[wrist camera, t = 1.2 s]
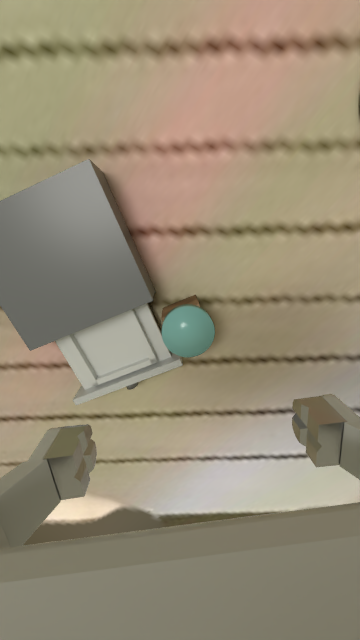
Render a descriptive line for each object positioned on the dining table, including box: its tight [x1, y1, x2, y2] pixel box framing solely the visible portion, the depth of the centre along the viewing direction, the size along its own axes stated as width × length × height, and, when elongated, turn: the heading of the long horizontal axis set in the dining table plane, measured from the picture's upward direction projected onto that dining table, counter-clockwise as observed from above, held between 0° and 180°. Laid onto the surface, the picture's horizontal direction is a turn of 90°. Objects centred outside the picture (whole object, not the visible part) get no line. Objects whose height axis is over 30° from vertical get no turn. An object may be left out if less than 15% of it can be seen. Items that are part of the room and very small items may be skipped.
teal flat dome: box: [162, 304, 215, 357], centre depth 31 cm, size 6×6×2 cm
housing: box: [0, 159, 156, 351], centre depth 31 cm, size 17×16×5 cm
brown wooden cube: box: [161, 295, 200, 321], centre depth 34 cm, size 5×5×5 cm
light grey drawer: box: [55, 303, 183, 405], centre depth 35 cm, size 17×17×4 cm
